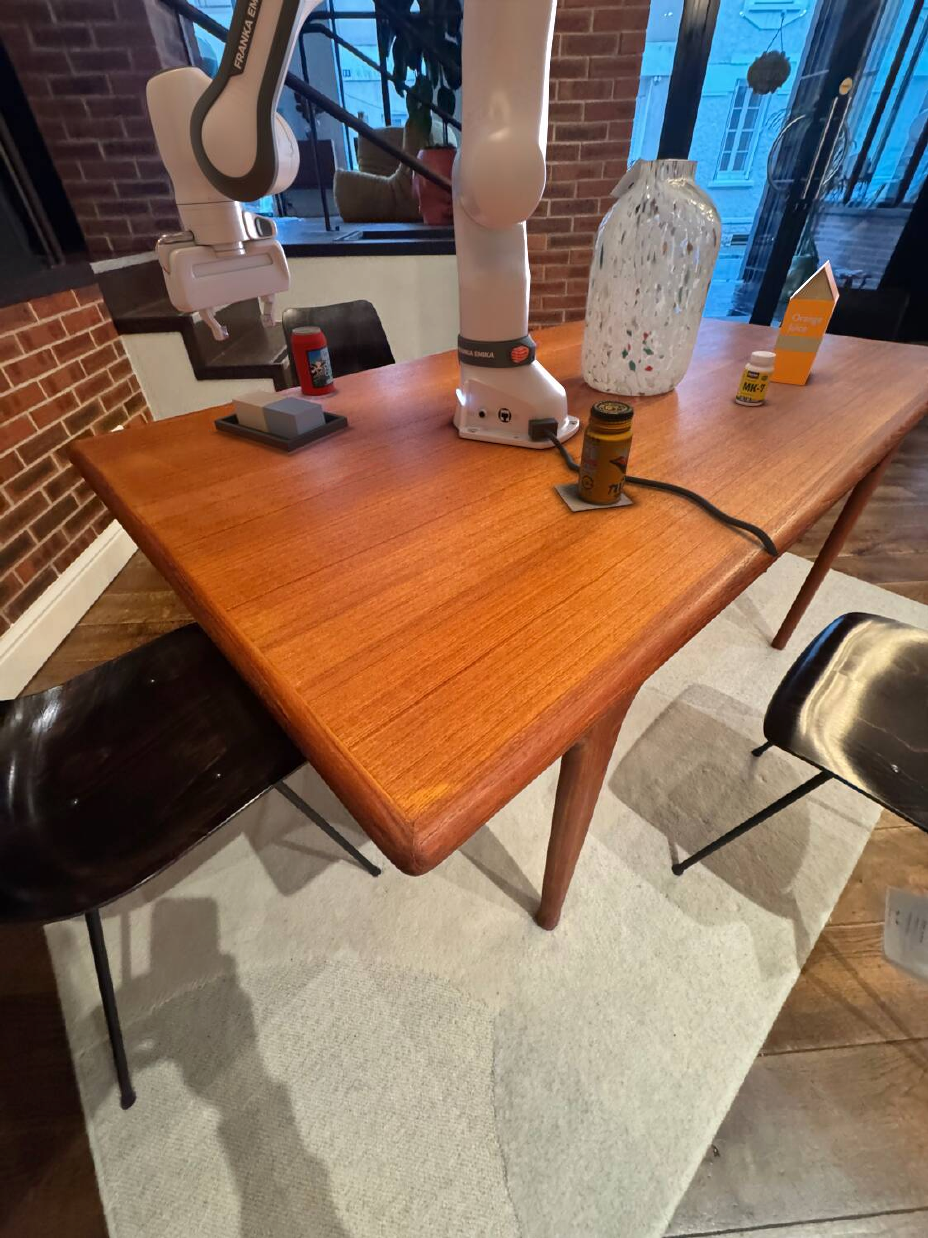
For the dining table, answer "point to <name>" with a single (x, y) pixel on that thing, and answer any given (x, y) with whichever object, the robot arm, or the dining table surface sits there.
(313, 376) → the beverage can
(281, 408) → the blue gray block
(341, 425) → the tray
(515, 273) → the robot arm
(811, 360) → the orange juice
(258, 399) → the beige block
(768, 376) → the supplement bottle
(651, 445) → the dining table surface
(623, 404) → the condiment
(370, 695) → the dining table surface
